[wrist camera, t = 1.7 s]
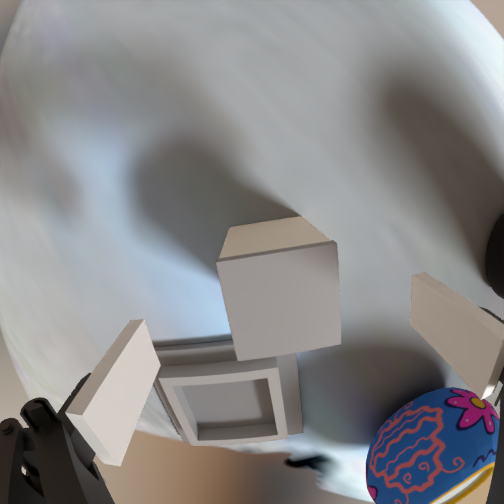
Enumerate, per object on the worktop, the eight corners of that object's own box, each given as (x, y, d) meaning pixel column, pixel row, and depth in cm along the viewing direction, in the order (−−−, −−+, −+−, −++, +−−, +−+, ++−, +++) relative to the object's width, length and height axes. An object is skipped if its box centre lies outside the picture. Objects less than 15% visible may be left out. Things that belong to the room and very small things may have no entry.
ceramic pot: (395, 459, 32) (423, 527, 17) (323, 440, 29) (347, 539, 14) (477, 385, 28) (526, 446, 14) (430, 342, 25) (508, 432, 11)
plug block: (228, 226, 22) (215, 262, 13) (301, 215, 21) (336, 243, 13) (241, 294, 23) (237, 361, 14) (309, 283, 23) (340, 343, 14)
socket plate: (142, 347, 24) (134, 363, 22) (292, 330, 24) (297, 347, 22) (185, 437, 28) (181, 453, 26) (302, 427, 28) (305, 444, 25)
